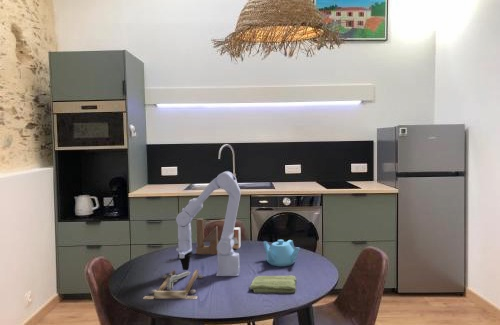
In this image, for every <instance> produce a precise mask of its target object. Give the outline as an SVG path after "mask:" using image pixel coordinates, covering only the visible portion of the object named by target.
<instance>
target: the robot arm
mask: <svg viewBox="0 0 500 325" xmlns="http://www.w3.org/2000/svg"><path fill="white" fill-rule="evenodd" d="M220 188H221V189H223V190H224V191H225V192H226V194H227V195H228V202H227V206H226V210H225V211H226V212H225V217H224V222H223V228H222V232H221V236H220V240H218V244H217V251H218V254H217V272H216V274H215V275H216V277H239V274H240V271H241V265H240V253H239V252H235V250H234V249H232V247H233V246H234V239H233V236H234V227H235V226H236V223H237V216H238V210H239V204H240V200H241V195H242V192H241V188H240V186H239V184H238V181H237V177H236V176H235V175H234V174H233V173H232V172H231V171H229V170H226V171H222V172H221V173H219V174H218V175H217V177H215V178H213V179H212V180H211V181H210V182H209V183H208V184H207V185H206V187H205V188H204V189H203V191H202V192H201V193H200V194H199V195H198V197H194V198H192V199H189V200H188V204H187V205H186V206H185V207H183V208H182V209H181V212H179V213H178V214H177V216H176V218H175V222H176V224H177V243H178V247H177V248H176V249H175V252H178V254H177V257H178V260H180V264H181V268H182V270H183V271H189V268H190V263H191V257H192V256H193V252H192V251H193V246H192V244H193V243H192V221H193V219H194V218H195V216H197V215H198V213H199V212H201V211H202V209H203V207H204V202H205V201H206V200H207V199H208V198H209V197H210V196H211V195H212V194H213V192H214V191H216V190H219V189H220Z"/></svg>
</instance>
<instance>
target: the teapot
mask: <svg viewBox="0 0 500 325" xmlns="http://www.w3.org/2000/svg"><path fill="white" fill-rule="evenodd" d="M262 243H263V247H264V251H265V256H266V257H265V259H266V262H267V263H268V264H269V265H270V266H273V267H279V268H280V267H288V266H292V265H294V263H295V261H297V258H298V257H297V256H298V254H299V252H300V248H301V247H295V245H294V240H291V239H288V240H287V241H284V239H277V241H275V242H272V243H271V245H270V244H269V242H268V241H263V242H262Z"/></svg>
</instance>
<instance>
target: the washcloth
mask: <svg viewBox="0 0 500 325" xmlns="http://www.w3.org/2000/svg"><path fill="white" fill-rule="evenodd" d="M296 285H297V277H296V276H295V275H291V274H290V275H259V276H256V277H254V278H253V280H252V281H251V285H249V289H250V290H253V293H259V294H260V293H262V294H263V293H264V294H265V293H269V294H270V293H271V294H273V293H274V294H275V293H276V294H281V293H282V294H283V293H284V294H286V293H287V294H288V293H289V294H293V293H296V290H297V287H296Z"/></svg>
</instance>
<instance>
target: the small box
mask: <svg viewBox="0 0 500 325" xmlns="http://www.w3.org/2000/svg"><path fill="white" fill-rule="evenodd" d="M241 235H242V234H241V226H240V227H239V226H238V227H234V236H233V239H234V246H233V247H232V249H233V250H234V249H235V250H239V249H240V248H241V245H242V244H241V242H242V240H241V238H242V236H241Z"/></svg>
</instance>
